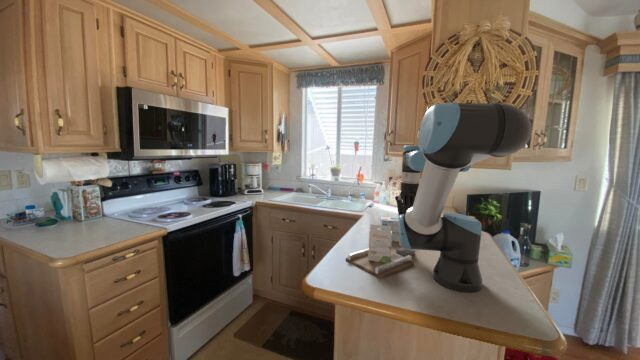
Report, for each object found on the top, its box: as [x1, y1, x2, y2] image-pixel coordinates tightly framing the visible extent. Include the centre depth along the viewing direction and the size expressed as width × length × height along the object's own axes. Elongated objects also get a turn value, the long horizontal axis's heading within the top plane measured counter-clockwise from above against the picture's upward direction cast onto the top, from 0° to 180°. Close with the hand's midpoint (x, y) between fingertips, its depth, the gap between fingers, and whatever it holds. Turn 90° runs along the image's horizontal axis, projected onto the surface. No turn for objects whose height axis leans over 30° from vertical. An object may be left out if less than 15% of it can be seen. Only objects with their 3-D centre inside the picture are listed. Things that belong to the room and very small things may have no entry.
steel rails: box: [347, 247, 413, 274], centre depth 105 cm, size 15×20×2 cm
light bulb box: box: [379, 216, 400, 243], centre depth 132 cm, size 11×7×11 cm, turn 84°
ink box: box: [368, 223, 393, 263], centre depth 104 cm, size 9×5×15 cm, turn 70°
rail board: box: [345, 252, 415, 279], centre depth 105 cm, size 18×20×1 cm
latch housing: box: [395, 246, 416, 257], centre depth 115 cm, size 6×6×2 cm
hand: (406, 236), depth 114 cm, fingers closed
